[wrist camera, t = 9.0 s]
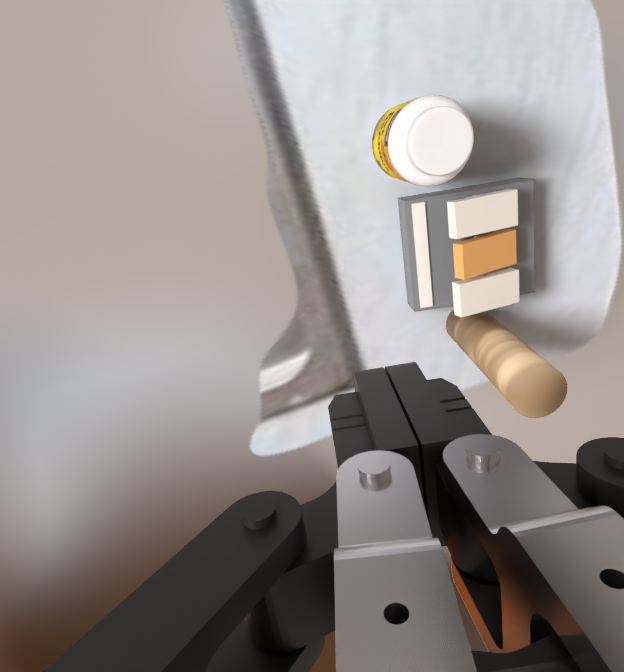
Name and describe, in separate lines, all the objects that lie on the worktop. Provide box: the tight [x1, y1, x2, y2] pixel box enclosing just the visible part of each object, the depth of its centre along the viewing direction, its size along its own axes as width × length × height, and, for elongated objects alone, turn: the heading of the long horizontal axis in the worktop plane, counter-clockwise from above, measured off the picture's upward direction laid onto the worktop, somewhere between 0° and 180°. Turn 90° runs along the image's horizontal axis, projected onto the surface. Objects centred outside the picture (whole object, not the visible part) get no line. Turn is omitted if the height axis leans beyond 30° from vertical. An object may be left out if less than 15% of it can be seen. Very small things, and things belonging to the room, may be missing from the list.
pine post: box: [446, 310, 567, 418], centre depth 40 cm, size 4×4×14 cm
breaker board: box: [398, 178, 535, 312], centre depth 42 cm, size 9×10×4 cm
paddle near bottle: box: [447, 189, 518, 239], centre depth 38 cm, size 3×5×2 cm, turn 99°
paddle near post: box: [452, 268, 519, 318], centre depth 40 cm, size 3×5×1 cm, turn 99°
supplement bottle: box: [372, 95, 474, 186], centre depth 36 cm, size 6×6×10 cm
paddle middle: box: [453, 229, 517, 280], centre depth 39 cm, size 3×5×1 cm, turn 99°
